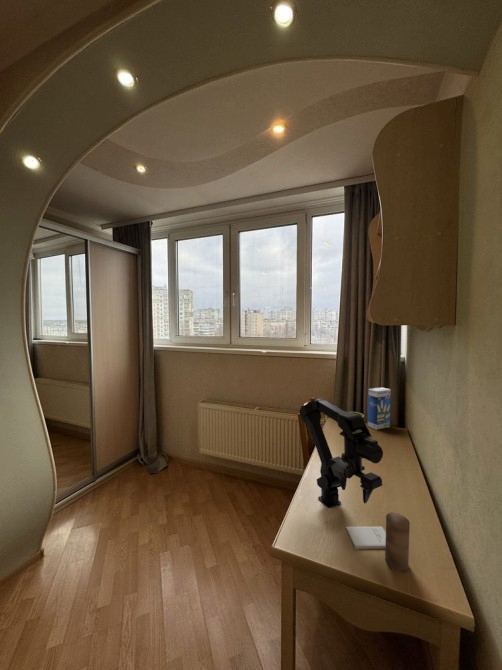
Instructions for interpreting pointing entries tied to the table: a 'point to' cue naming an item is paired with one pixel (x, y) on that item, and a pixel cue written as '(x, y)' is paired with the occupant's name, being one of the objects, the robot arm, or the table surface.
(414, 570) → the table surface
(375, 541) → the external hard drive
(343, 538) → the table surface
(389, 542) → the walnut roller
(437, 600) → the table surface
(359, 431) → the plant pot
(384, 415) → the string lights box
